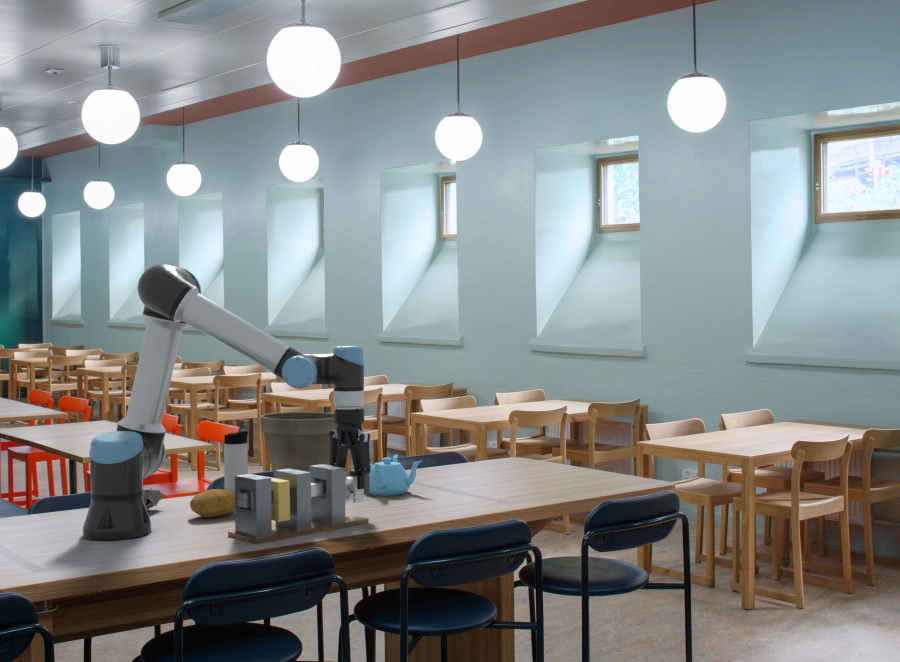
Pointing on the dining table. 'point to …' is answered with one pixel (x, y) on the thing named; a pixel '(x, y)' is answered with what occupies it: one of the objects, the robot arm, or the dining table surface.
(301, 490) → the bearing rail
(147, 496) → the mineral specimen
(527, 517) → the dining table surface
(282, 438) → the plant pot
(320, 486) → the shaft
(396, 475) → the teapot
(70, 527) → the dining table surface
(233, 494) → the potato
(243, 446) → the travel mug
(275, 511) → the spacer
